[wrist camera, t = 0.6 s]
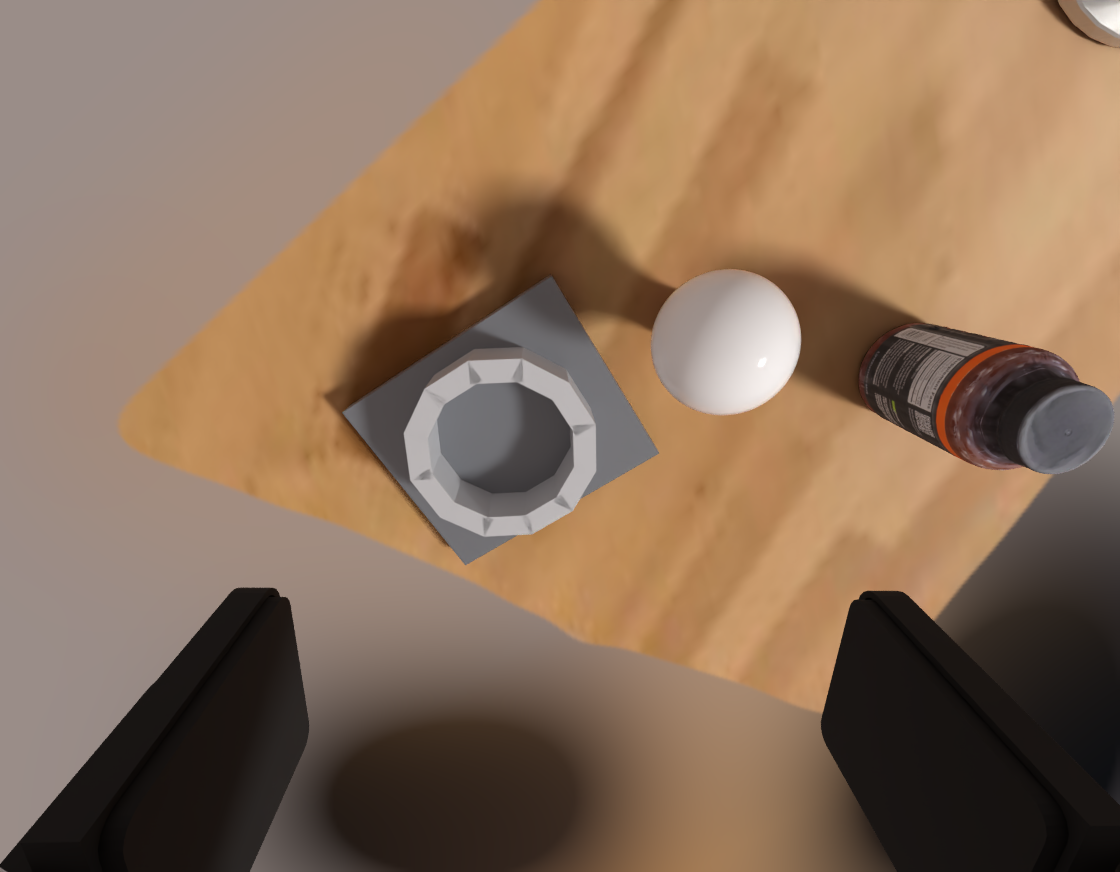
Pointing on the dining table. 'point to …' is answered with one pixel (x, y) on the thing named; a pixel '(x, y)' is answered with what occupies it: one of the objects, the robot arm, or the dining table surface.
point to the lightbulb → (725, 342)
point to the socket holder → (504, 424)
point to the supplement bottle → (985, 398)
